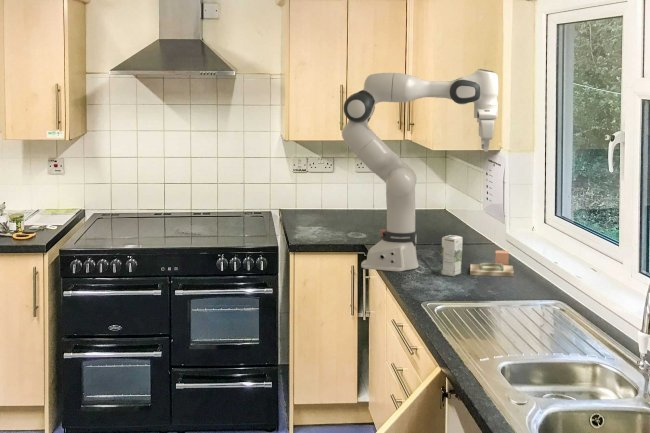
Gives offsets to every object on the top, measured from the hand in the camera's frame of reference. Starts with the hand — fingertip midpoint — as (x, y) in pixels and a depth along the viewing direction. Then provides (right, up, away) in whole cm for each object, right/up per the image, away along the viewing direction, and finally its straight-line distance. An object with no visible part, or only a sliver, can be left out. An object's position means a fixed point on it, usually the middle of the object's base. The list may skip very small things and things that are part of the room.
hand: (484, 150), depth 332 cm
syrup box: (-13, -47, 0) cm, 49 cm away
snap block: (+9, -45, +12) cm, 47 cm away
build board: (+3, -46, +3) cm, 46 cm away
